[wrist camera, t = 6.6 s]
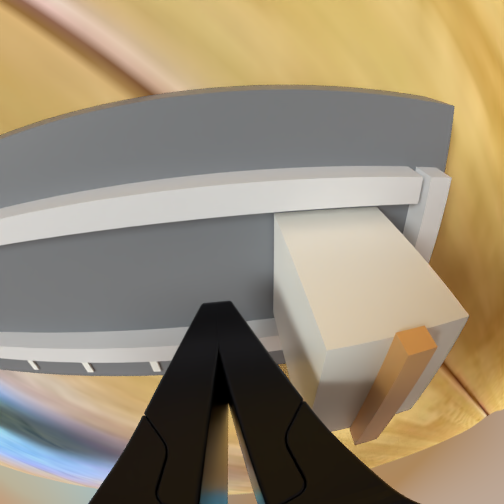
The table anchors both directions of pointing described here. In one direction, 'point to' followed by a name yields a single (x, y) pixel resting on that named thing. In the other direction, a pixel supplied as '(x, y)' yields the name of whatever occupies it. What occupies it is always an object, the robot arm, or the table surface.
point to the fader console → (191, 211)
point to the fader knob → (358, 316)
